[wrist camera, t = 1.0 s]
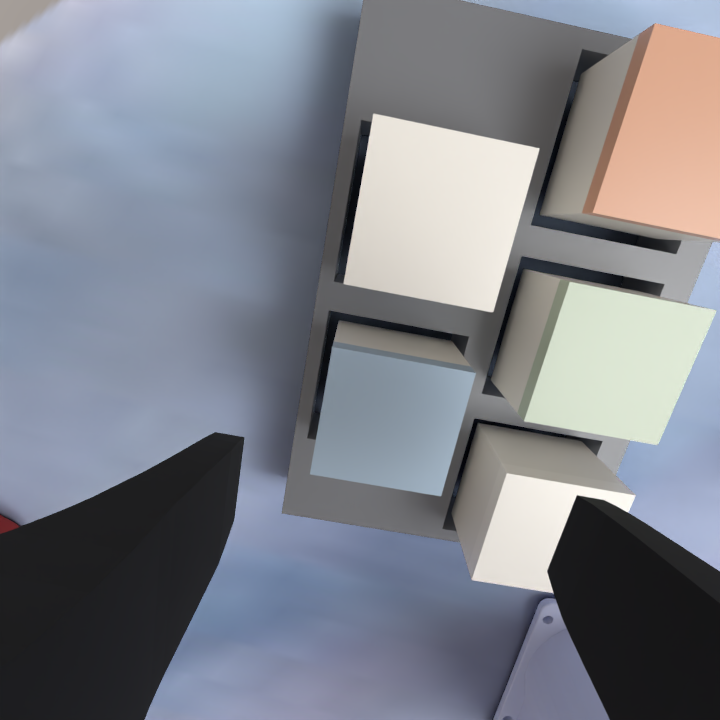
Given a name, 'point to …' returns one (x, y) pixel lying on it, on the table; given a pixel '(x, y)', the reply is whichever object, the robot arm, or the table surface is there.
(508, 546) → the cream key
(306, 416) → the keypad board
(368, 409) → the blue key
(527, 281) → the sage key
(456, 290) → the cream key
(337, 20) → the table surface
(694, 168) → the terracotta key
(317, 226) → the table surface
